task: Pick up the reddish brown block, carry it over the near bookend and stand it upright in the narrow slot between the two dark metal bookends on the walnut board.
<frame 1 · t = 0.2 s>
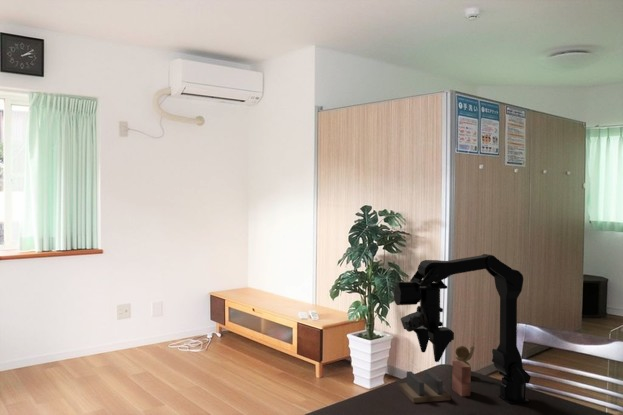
hand: (429, 356, 152), 14 cm above the table, tool pointing down, fingers open, 9 cm apart
bookend shelf: (424, 393, 161), on the table
reddish brown block: (461, 392, 162), on the table
snail figurine: (464, 377, 177), on the table
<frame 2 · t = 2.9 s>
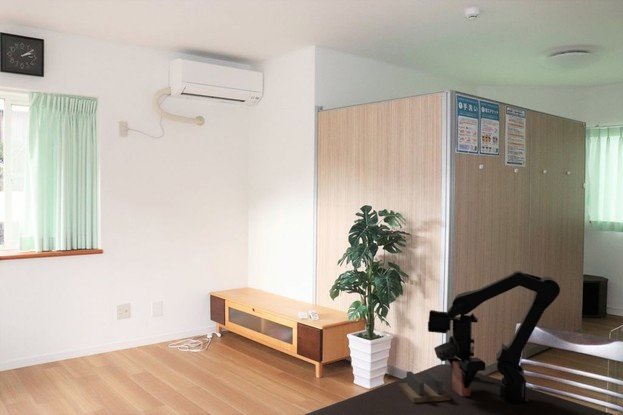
hand: (461, 384, 162), 3 cm above the table, tool pointing down, fingers closed on reddish brown block, 6 cm apart
reddish brown block: (461, 392, 162), on the table, touching gripper
everything else where it was.
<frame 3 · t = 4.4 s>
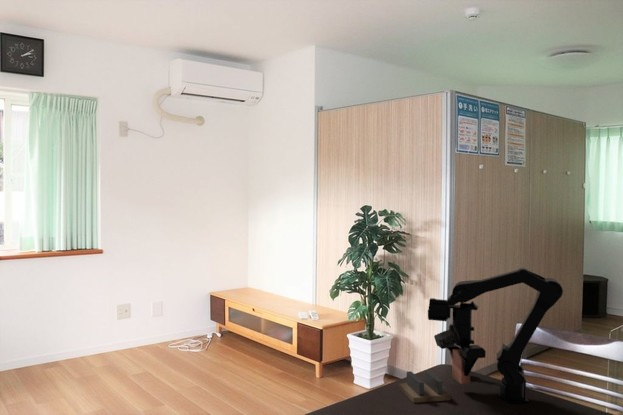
hand: (461, 372, 162), 6 cm above the table, tool pointing down, fingers closed on reddish brown block, 6 cm apart
reddish brown block: (461, 380, 162), point 4 cm above the table, touching gripper
everything else where it was.
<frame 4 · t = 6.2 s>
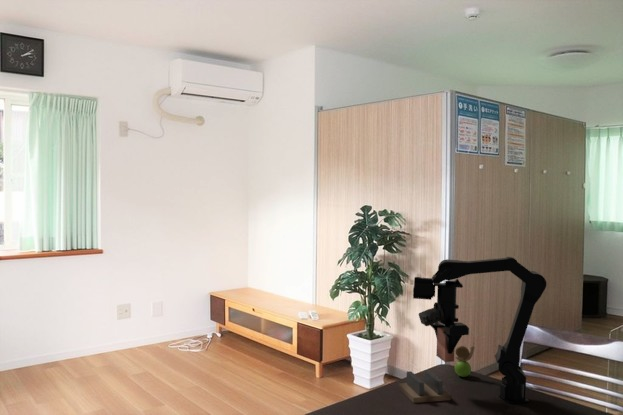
hand: (445, 350, 161), 13 cm above the table, tool pointing down, fingers closed on reddish brown block, 6 cm apart
reddish brown block: (445, 358, 161), point 11 cm above the table, touching gripper
everything else where it was.
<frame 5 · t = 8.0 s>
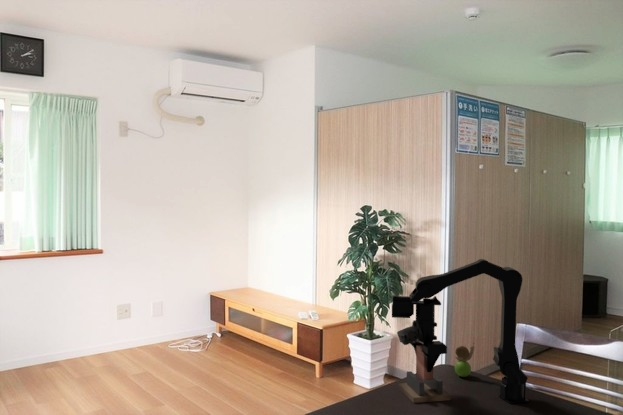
hand: (424, 368, 161), 8 cm above the table, tool pointing down, fingers closed on reddish brown block, 6 cm apart
reddish brown block: (424, 376, 161), point 5 cm above the table, touching gripper
everything else where it was.
when the fingers open (6 cm above the table, at t = 9.4 s): reddish brown block drops 2 cm, resting on bookend shelf.
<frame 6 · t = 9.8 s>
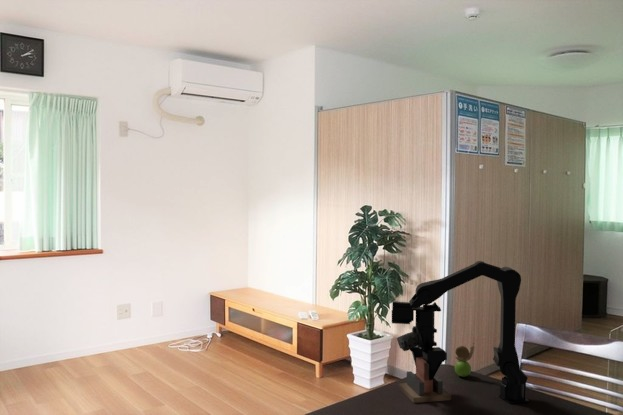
hand: (424, 374, 161), 6 cm above the table, tool pointing down, fingers open, 9 cm apart
reddish brown block: (424, 389, 161), point 1 cm above the table, touching bookend shelf
everything else where it was.
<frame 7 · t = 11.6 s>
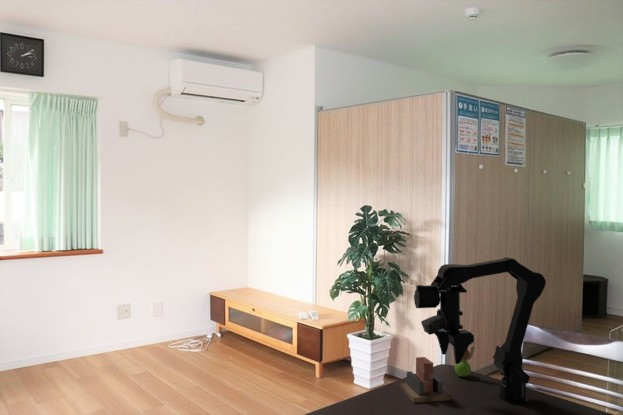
hand: (450, 358, 155), 13 cm above the table, tool pointing down, fingers open, 9 cm apart
nothing on the table moved.
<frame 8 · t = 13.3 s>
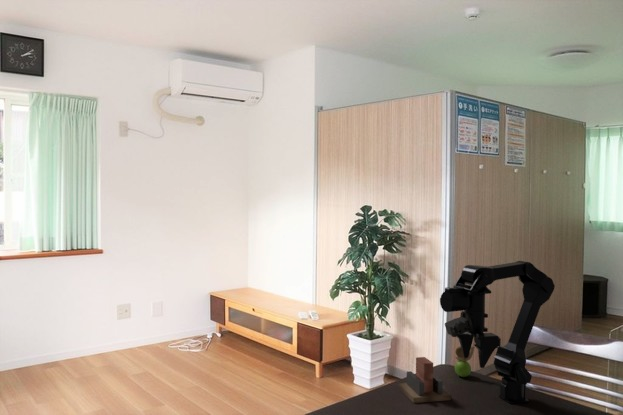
hand: (473, 362, 151), 13 cm above the table, tool pointing down, fingers open, 9 cm apart
nothing on the table moved.
at the end: reddish brown block 0.0 cm off-centre on the bookend shelf, point 1.5 cm above the bookend shelf's base; reddish brown block tilted 0°; the gripper is holding nothing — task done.
